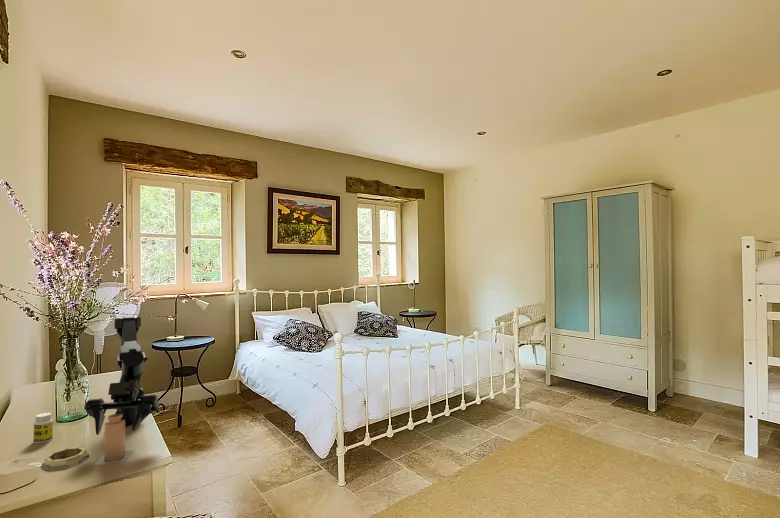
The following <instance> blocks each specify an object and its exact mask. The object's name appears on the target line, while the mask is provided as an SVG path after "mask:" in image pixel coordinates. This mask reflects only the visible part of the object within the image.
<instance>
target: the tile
mask: <svg viewBox="0 0 780 518" xmlns="http://www.w3.org/2000/svg"><path fill="white" fill-rule="evenodd" d="M135 451H136V450H135V449H132V450H131V449H130V450H125V456H124V457H123V458H121V459H119V460H115V461H105V460H104V454H103V455H101V457H99V459H98V460H97V461H95V463H93V464H92V465H93V466H101V465H110V464H118V463H119V464H120V463H125V462H126V461H128V460H129V458H130V457H131V456H132V454H133V453H135Z"/></svg>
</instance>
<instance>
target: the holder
mask: <svg viewBox="0 0 780 518" xmlns="http://www.w3.org/2000/svg"><path fill="white" fill-rule="evenodd" d="M90 457H91V455H90V453H88V452H87V449H86V448H85V447H84V448H83V447H81V446H78V447H77V446H74V447H67V448H63V449H60V450H57V451H54V452H51V453H49V455H47V456H46V457H45V458H44V462H43V463H42V464H41V465H42V466H41V465H40V470H42V471H48V472H49V471H51V472H52V471H59V470H64V469H65V470H66V469H68V468H72V467H75V466H78V465H80V464H82V463H84V462H86V461H88V459H89V458H90Z"/></svg>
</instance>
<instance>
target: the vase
mask: <svg viewBox="0 0 780 518" xmlns="http://www.w3.org/2000/svg"><path fill="white" fill-rule="evenodd" d="M122 417H123V414H115V413H114V414H110V415H108V416H107V420H108V421H107V422H105V423H104V453H103V455H104V460H105V461H115V460H119V459H121V458H123V457H124V456H125V451H126V426H125V420H122V419H121V418H122Z"/></svg>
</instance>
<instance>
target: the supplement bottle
mask: <svg viewBox="0 0 780 518" xmlns="http://www.w3.org/2000/svg"><path fill="white" fill-rule="evenodd" d="M52 417H53V415H52V413H51V412H44V413H40V414H39V413H38V414H37V415H35V417H34V418H35V421H34V422H33V440H32V441H33V443H34V444H38V445H39V444H44V443H45V444H46V443H48V442H50V441H51V440H52V439H53V438H54V437H53V434H54V432H53V429H54V427H53V426H54V419H52Z"/></svg>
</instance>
